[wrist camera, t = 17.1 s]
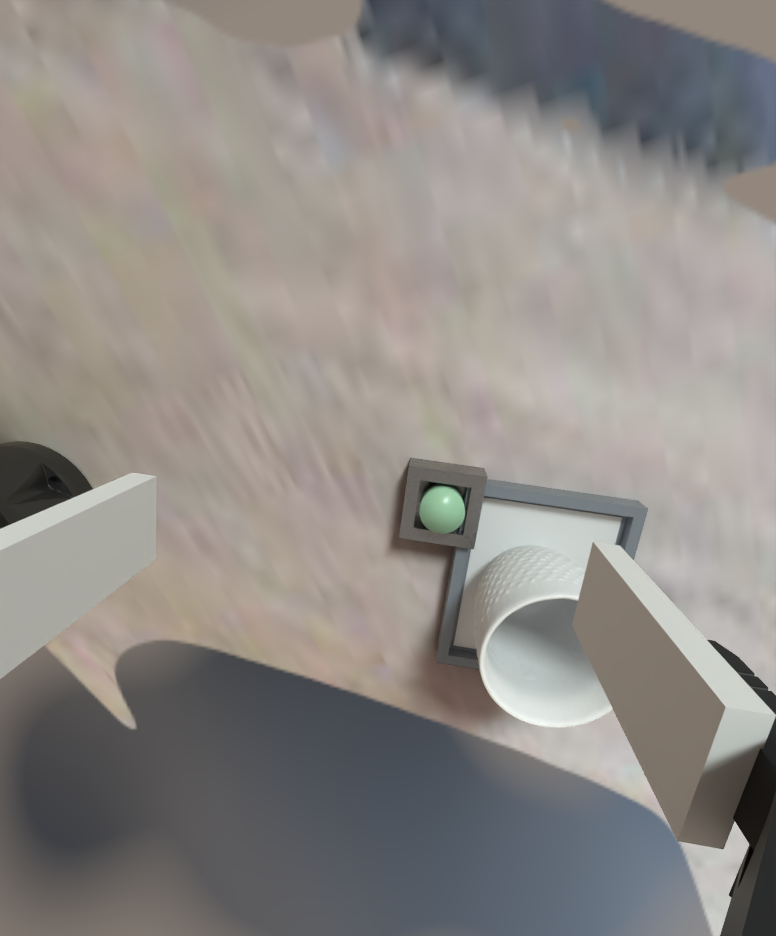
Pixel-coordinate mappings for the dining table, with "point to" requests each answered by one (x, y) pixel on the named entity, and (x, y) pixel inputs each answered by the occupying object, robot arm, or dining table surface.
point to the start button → (442, 508)
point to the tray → (528, 523)
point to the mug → (535, 639)
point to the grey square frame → (433, 473)
